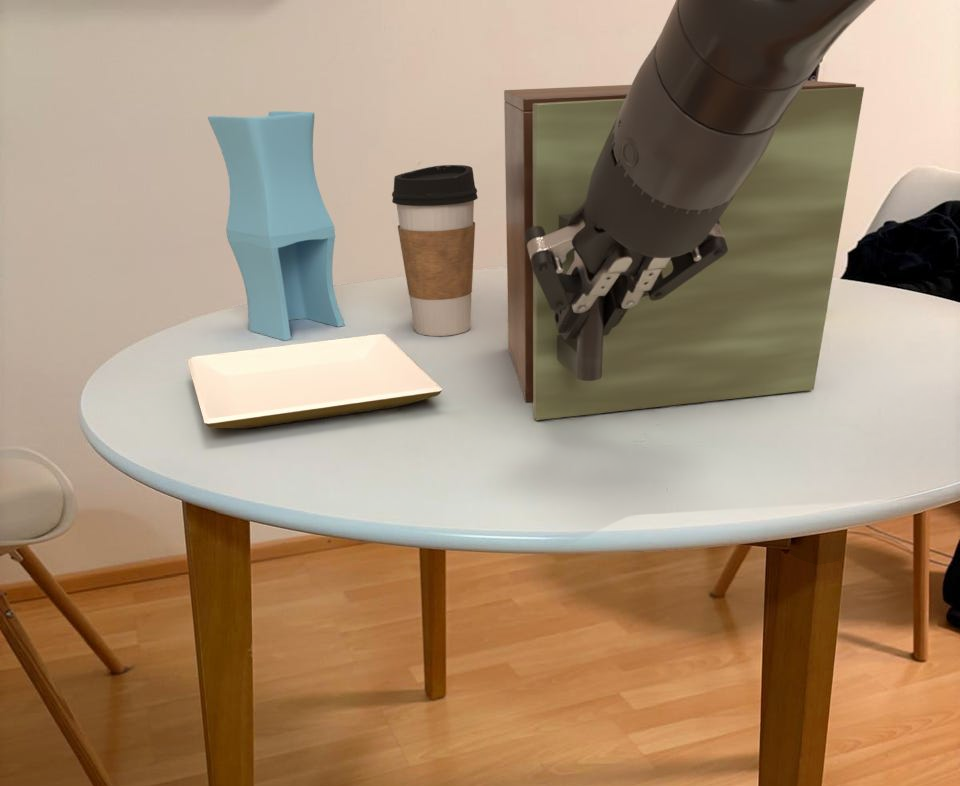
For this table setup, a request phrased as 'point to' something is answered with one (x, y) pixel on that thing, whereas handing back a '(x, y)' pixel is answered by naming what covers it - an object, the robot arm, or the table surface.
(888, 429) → the table surface
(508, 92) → the cupboard
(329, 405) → the plate
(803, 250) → the door
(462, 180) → the coffee cup
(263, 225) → the vase
